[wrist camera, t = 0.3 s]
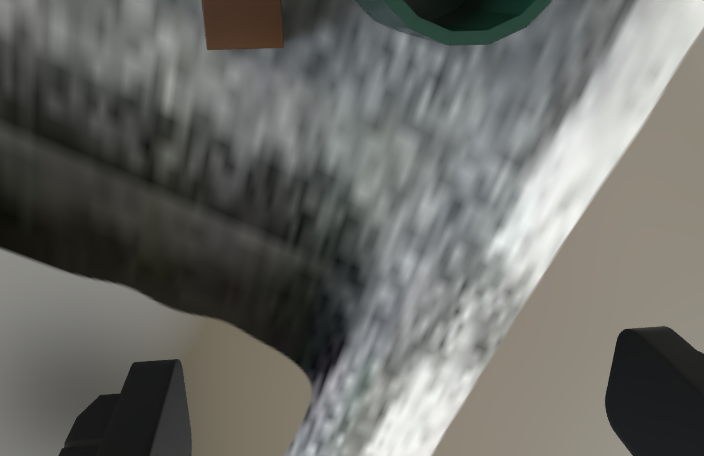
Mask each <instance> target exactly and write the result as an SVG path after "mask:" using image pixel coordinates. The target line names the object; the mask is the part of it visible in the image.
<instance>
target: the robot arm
mask: <svg viewBox="0 0 704 456" xmlns="http://www.w3.org/2000/svg"><path fill="white" fill-rule="evenodd" d="M605 407H606V413H607V417H608V420H609V422H610V425H611V427H612V428H613V430H614V432H615V433H616V434H617V436H618V437H619V438H620V440H621V441H622V442H623V444H624V445H625V446H626V448H627V449H628V450H629V451H630V453H631V454H632V455H633V456H704V354H703V353H701V352H699V351H697V350H696V349H694V348H693V347H692V346H691V345H690V344H689V343H687V342H686V341H685V340H684V339H683V338H682V337H680V336H679V335H678V334H677V333H676V332H674V331H673V330H672V329H671V328H668V327H665V326H662V327H648V328H633V329H625V330H623V331H622V332H621V333H620V334H619V336H618V338H617V342H616V347H615V352H614V357H613V362H612V367H611V371H610V376H609V381H608V387H607V391H606V397H605ZM191 450H192V439H191V427H190V420H189V412H188V405H187V398H186V391H185V383H184V376H183V369H182V365H181V362H180V360H179V359H174V360H160V361H146V362H134V363H133V364H132V366H131V368H130V371H129V373H128V376H127V378H126V381H125V383H124V386H123V388H122V391H121V393H120V394H109V395H100V396H99V397H98V398H97V399H96V400H95V401H94V402H93V403H92V404H90V405H89V406H88V407H87V408H86V409H85V410H84V411H83V412H82V413H81V414H80V415H79V416H78V417H77V418H76V420H75V423H74V425H73V427H72V429H71V431H70V433H69V435H68V437H67V439H66V441H65V447H64V448H62V450H61V452H60V454H59V456H191V452H192V451H191Z"/></svg>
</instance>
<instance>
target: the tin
mask: <svg viewBox="0 0 704 456" xmlns="http://www.w3.org/2000/svg"><path fill="white" fill-rule="evenodd" d="M355 1H356V2H357V3H358V4H359V5H360V7H361V8H362V9H363V10H364V11H365V12H366V13H367V14H368V15H370V16H371V17H372V18H373V20H375V21H377V22H379V23H381V24H384V25H386V26H388V27H391V28H393V29H396V30H398V31H400V32H403V33H407V34H410V35H414V36H417V37H421V38H424V39H428V40H431V41H435V42H438V43H442V44H445V45H484V44H491V43H493V42H495V41H498V40H500V39H502V38H504V37H506V36H508V35H511V34H513V33H515V32H517V31H519V30H521V29H523V28H526V27H527V26H528V25H530V24H531V23H532V22H533V20H534V19H535V18H536V17H537V16H538V15H539V14H540V13H541V12H542V11H543V10H544V9H545V8H546V7H547V6H548V5H549V4H550V3H551V2H552V1H553V0H355Z"/></svg>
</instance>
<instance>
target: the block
mask: <svg viewBox="0 0 704 456" xmlns="http://www.w3.org/2000/svg"><path fill="white" fill-rule="evenodd" d="M202 9H203V18H204V27H205V36H206V45H207V50H223V49H258V48H284V40H283V23H282V7H281V0H202Z"/></svg>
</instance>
